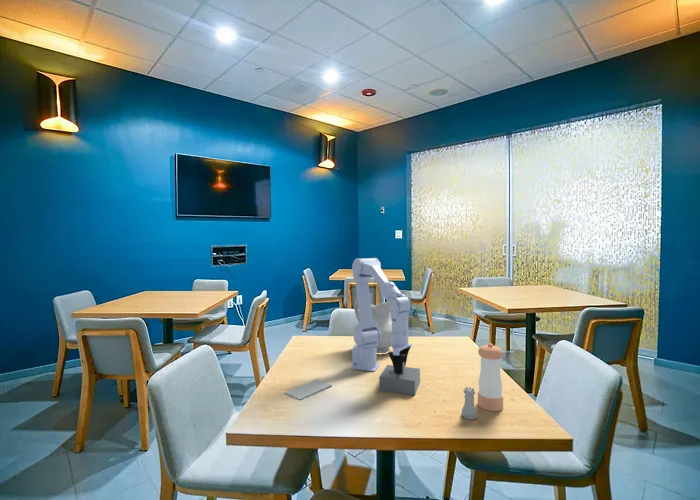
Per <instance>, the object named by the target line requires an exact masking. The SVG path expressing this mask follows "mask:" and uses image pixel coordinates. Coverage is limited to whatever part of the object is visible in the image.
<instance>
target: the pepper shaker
mask: <svg viewBox="0 0 700 500" xmlns="http://www.w3.org/2000/svg"><path fill="white" fill-rule="evenodd" d="M477 353H478V355H479V357H480V373H479V378H478V392H477V407H479V408H481V409H483V410H484V411H488V412H489V411H490V412H500V411H502V410H503V409H504V395H503V391H502V390H503V382H502V375H501V359H502V358H503V355H504V353H503V350H502V348H500V347H499V346H497V345H494V344H493V343H491V342H489V343H487V344H484V345H481V346H480V347H479V348H478V350H477Z"/></svg>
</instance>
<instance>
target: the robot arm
mask: <svg viewBox="0 0 700 500" xmlns="http://www.w3.org/2000/svg"><path fill="white" fill-rule="evenodd" d="M351 267H352V276H353V279H354V280H355V288H356V297H357V298H356V299H357V300H358V311H359V318H360V322H359V321H358V323H357V324H356V325H355V326H354V328H353V329H354V332H353V341H354V343H355V344H354V345H353V347H352V350H351V351H352V353H351V357H352V358H351V359H352V360H351V369H352V370H358V371H365V370H366V372H376V370H377V369H378V368H379V366H380V363H377V354H376V346H377V345H378V343H379V342H380V340H381V333H380V331H379V327H378V324H377V323H375V322H374V321H373V319H372V310H371V304H372V302H371V295H370V286H369V281H370V279H371V280H372V279H374V280H375V282H376V283H377V284H378V285H379V286H380V293H381V294H382V296H383V297H384V299H385V300H386V302H387V301H388V303H389V304H388V307H389V310H390V319H391V321H392V343H391V348H392V351H389V354H388V356H389V358H390V360H391V362H392V366H393V368H394V372H395V374H401V373H402V367H403V362H404V367H406V365H407V359H408V355H409V352H410V349H411V348H412V346H413V344H412V343H410V342H409V313H411V310H412V308H413V303H412V302H413V301H412V299H411V298H410V297H409V296H408V295H405V294H402V292H401V291H400V290H399V287H397V285H396V284H395V283H394V282H393V281H389V280H388V278H387V277H386V275H385V273H384V271H383V269H382V268H381V267H382V265H381V261H380V260H379V259H378V258H377V257H371V258H370V257H367V258H358V257H357V258H355V259H354V260H353V262H352V265H351ZM364 328H370V329H364ZM363 329H364V330H363Z"/></svg>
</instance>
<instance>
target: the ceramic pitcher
mask: <svg viewBox="0 0 700 500" xmlns="http://www.w3.org/2000/svg"><path fill="white" fill-rule="evenodd" d="M388 304H389V303H388V301H387V300H386V301H385V302H384V301H382V302H380V303H378V304H376V305H375V304H373V303H371V310H372V319H373V321H374V322H375V323H377V324H378V327H379V331H380V333H381V340H380V342H379V343H378V345H377V346H376V353H386V352H388V351H389V350H390V348H392V346H391V343H392V318H391V316H390V310H389V307H388ZM353 311H354V315H355V318H356V320H357V322H358V323H359V322H360V318H359V309H358V300H357V298H356V299H355V301H354V307H353ZM364 329H370V328H364ZM364 329H363V330H364ZM389 352H390V351H389Z"/></svg>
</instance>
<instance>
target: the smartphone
mask: <svg viewBox="0 0 700 500" xmlns="http://www.w3.org/2000/svg"><path fill="white" fill-rule="evenodd" d="M330 388H332V384H331V383H328V382H326V381H322V380H320V379H319V378H317V379H313V380H311V381H308V382H306V383H304V384H301V385H299V386H296V387H295V388H292V389H290V390H288V391H285V392H284V394H285V395H286V394H287V395H286V396H288V395H289V397H290V396H291V398H293V397H294V398H293V399H295V398H296V399H295V400H297V399H298V400H297V401H302V399H303V400H304V398H305V399H307V398H309V396H310V397H312V396H314V395H316V393H317V394H319V393H321V392H324V391H326V390H327V389H330ZM325 389H326V390H325ZM318 392H319V393H318ZM311 395H312V396H311Z"/></svg>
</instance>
